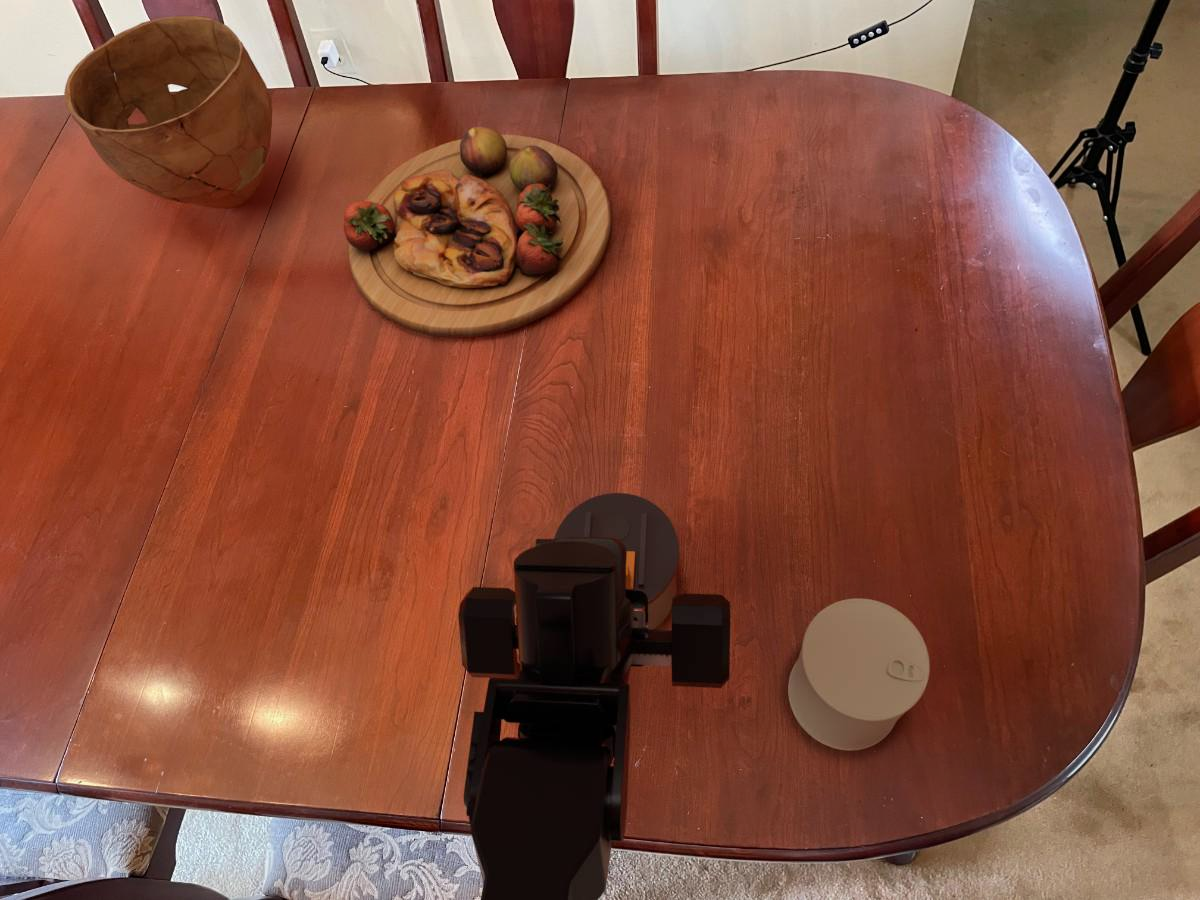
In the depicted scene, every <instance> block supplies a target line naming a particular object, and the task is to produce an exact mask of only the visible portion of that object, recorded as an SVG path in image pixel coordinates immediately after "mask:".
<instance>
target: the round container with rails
mask: <svg viewBox="0 0 1200 900" xmlns="http://www.w3.org/2000/svg"><path fill="white" fill-rule="evenodd" d="M565 537H611V538H617V539H619V540H621V541H622V542H623V543H624V545H625V547H626V551H635V570H634V589H626V590H640V591H643V592H644V593H645V594H646V595H647V598H648V621H649V630H656V628H658V627H659V626H660V625H661V624H662V623H663V622H664V621H665V620H666V619H667V617H668V616H669V614H670V613H671V612H672V601H673V598H674V597H677V596H678V595H677V594H678V578H677V570H678V566H679V561H680V544H679V539H678V538H679V537H678V535H677V531H676V528H675V526H674V524H673V523H672V521H671V520H670V518H669V517H668V515H667V514H666V513H665V512H664V510H662V509H661V508H660V507H659V506H657V505H656V504H655V503H653V502H652V501H650V500H648V499H646V498H644V497H641V496H639V495H635V494H631V493H626V492H610V493H604V494H600V495H596V496H593V497H590V498H588V499H587V500H585V501H582V502H581V503H579V504H578V505H577V506H575V507H573V509H572V510H570V511H569V513H568V514H567V515H566V516H565V517H564V518H563V520H562V521H561V523H560V524H559V525H558V528H557V529H556V532H555V534H554V538H553V539H560V538H565Z"/></svg>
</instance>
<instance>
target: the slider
mask: <svg viewBox="0 0 1200 900" xmlns="http://www.w3.org/2000/svg"><path fill="white" fill-rule="evenodd" d="M634 570H635V551H627V559H626V589H634Z"/></svg>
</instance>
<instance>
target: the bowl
mask: <svg viewBox="0 0 1200 900" xmlns="http://www.w3.org/2000/svg"><path fill="white" fill-rule="evenodd" d="M170 85H174V86H179V87H182V88H184V89H180V90H178V91H177V92H175V93H174V94H173V93H171V91H170V88H169V86H170ZM63 93H64V94H63V95H64V102H65V107H66V110H67V112H68V113H69V115H70V116H71V117H72V118H73V120H74V121H75V122H76V123H77V124H78V126H79V127H80V128H81V130H82V131H83V133H84V134H85V136H86V137H87V139H88V141H89V143H90V145H91V147H92V148H93V149H94V151H95V153H96V154H97V155H98V157H100V159H101V160H102V162H103V163H104V164H105V165H106V166H107V167H108V168H109V169H110V170H111V171H112V172H113V173H115V174H116V175H117V176H118V177H119V178H121V179H122V180H124V181H125V182H127V183H129V184H130V185H133V186H135V187H137V188H139V189H141V190H143V191H145V192H146V193H149V194H150V195H154V196H156V197H159V198H161V199H164V200H166V201H171V202H176V203H181V204H190V205H195V206H199V207H203V208H209V209H218V210H219V209H220V210H227V209H232V208H236V207H239V206H241V205H242V204H244V203H245V202H246V201H248V200H249V199H250V198H251V197H252V196H253V194H254V193H255V192H256V190H257V188H258V186H259V185H260V184H261V183H260V182H261V179H262V177H263V173H264V169H265V166H266V163H267V159H268V156H269V152H270V149H271V139H272V127H273V105H272V104H273V103H272V98H271V94H270V91H269V89H268V86H267V84H266V82H265V81H264V79H263V77H262V76H261V73H260V72H259V70H258V69H257V66H256V65H255V63H254V61H253V59H252V58H251V56H250V54H249V52H248V50H247V49H246V47H245V46H244V43H243V42H242V41H241V39H239V37H238V35H237V34H236V32H234V31H233V30H232V29H231V28H230V27H229V26H228V25H226V24H224V23H222V22H220V21H218V20H216V19H215V18H214V17H213V18H212V17H209V16H203V15H202V16H201V15H199V16H198V15H169V16H163V17H160V18H156V19H150V20H146V21H144V22H140V23H138V24H136V25H135V26H132V27H130V28H127V29H125V30H123V31H121V32H119V33H117V34H115V35H114V36H112V37H110V38H109V39H108V40H107V41H105V42H104V43H103V44H101V45H99V46H98V47H96V48H95V49H93V50H92V51H91V52H88V53H87V54H86V56H84V57H83V58H82V59H81V60H80V61H79V62H78V63H77V64H75V66H74V68H73V69H72V70H71V72H70V74H69V75H68V77H67V80H66V83H65V86H64V92H63ZM136 109H138V110H139V112H140V113H141V114H142V115H143V117H144V118H145V120H146V122H141V123H133V124H132V123H129V120H128V119H129V118H130V117H131V116H132V114H133V112H134V111H135V110H136ZM193 175H195V176H193Z"/></svg>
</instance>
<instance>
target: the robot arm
mask: <svg viewBox="0 0 1200 900" xmlns="http://www.w3.org/2000/svg"><path fill="white" fill-rule="evenodd" d="M626 559H627V551H626V547H625V545H624V543H623V542H622V541H621V540H619V539H617V538H611V537H565V538H560V539H554V538H536V539H535V546H533V547H531V548H528V549H526V550H524V551H522V552H521V553H519V554H518V555H517V556H516V558H515V559H514V561H513V577H514V590H513V589H511V588H509V587H489V586H485V587H484V586H473V587H472V588H470V590H468V592H466V594H465V595H464V597H463V599H462V600H461V602H460V603H459V609H458V614H457V615H458V628H459V637H460V638H459V641H460V652H461V653H460V654H461V666H462V667H463V668H464V669H465V671H466V672H467V674H469V676H471V677H472V678H481V679H482V678H483V679H488V684H487V689H486V693H485V694H486V695H485V700H484V706H483V711H474V712H473V718H472V719H473V720H472V726H471V727H472V728H471V735H470V742H469V749H468V750H469V751H468V756H467V757H468V758H467V764H466V765H467V766H466V775H465V781H464V789H463V805H464V806H465V808H466V812H465V813H466V817H468V822H469V827H470V834H471V838H472V842H473V846H474V851H475V854H476V858H477V859H476V860H477V863H478V867H479V871H480V875H481V879H482V890H481V896H480V900H600V898H601V897H602V896H603V894H604V893H605V892H606V888H607V882H608V875H609V869H610V868H609V867H610V861H611V855H612V854H611V853H612V845H613V842H618V843H619V842H620V843H623V842H624V839H625V834H626V826H627V815H628V814H627V813H628V794H629V793H628V792H629V791H628V790H629V767H630V766H629V763H630V742H631V741H630V737H631V685H630V683H629V681H630V675H631V668H632V667H633V668H637V667H638V668H642V667H645V666H659V667H661V666H662V667H669V666H671V687H681V688H682V687H684V688H685V687H686V688H706V689H722V688H723V687H724V686H725V685H726V684H727V682H728V681H729V680H730V674H731V673H730V671H731V664H730V663H731V602H730V601H729V599H728V598H727V597H725V596H724V595H723V594H718V593H717V594H716V593H715V594H714V593H686V592H685V593H682V594H679V595H676V597H674V598H673V601H672V609H671V629H670V630H669V629H653V630H649V621H648V598H647V595H646V594H645V593H644V592H643V591H640V590H626ZM515 611H516V613H515ZM515 614H516V615H515ZM502 721H504V722H506V723H511V724H518V726H517V737H513V736H505V737H503V738H502V739H501V733H502ZM612 764H613V765H612Z"/></svg>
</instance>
